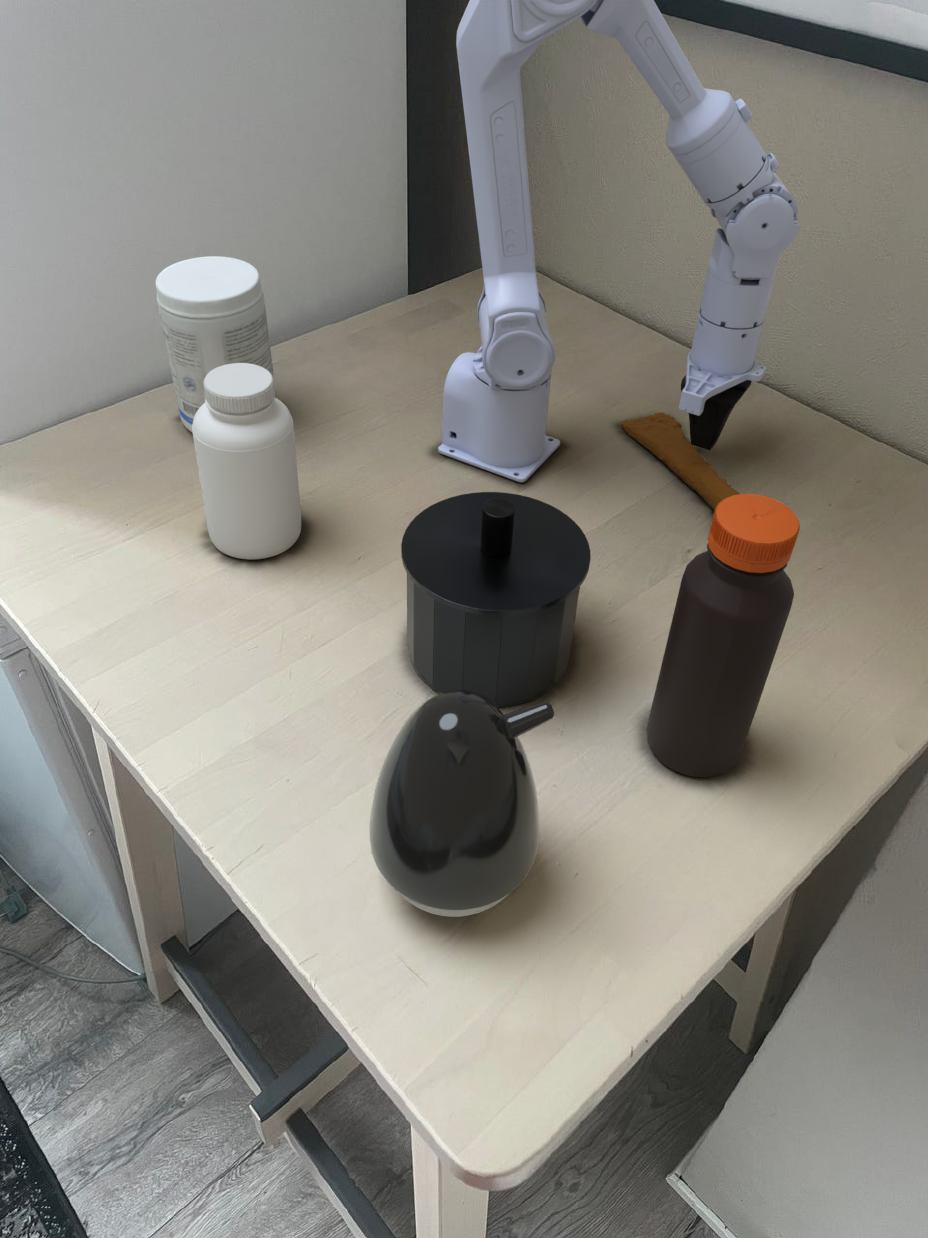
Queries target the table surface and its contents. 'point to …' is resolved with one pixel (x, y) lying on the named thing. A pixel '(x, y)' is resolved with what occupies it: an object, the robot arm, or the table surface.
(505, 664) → the pot
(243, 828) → the table surface
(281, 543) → the pill bottle
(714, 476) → the primitive tool
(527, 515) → the pot lid
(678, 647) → the bottle
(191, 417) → the supplement tub
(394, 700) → the table surface
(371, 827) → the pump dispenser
